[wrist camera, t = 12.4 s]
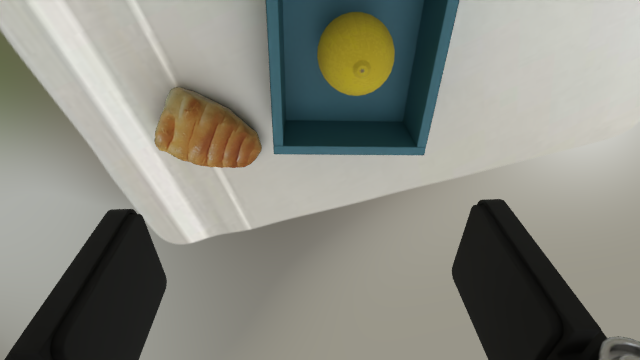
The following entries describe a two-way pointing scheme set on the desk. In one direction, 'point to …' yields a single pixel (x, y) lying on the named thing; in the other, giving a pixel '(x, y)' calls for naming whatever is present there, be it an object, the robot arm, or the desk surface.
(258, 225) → the desk surface
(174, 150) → the pastry
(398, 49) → the teal open bin
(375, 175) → the desk surface
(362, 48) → the lemon
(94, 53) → the desk surface
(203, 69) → the desk surface
